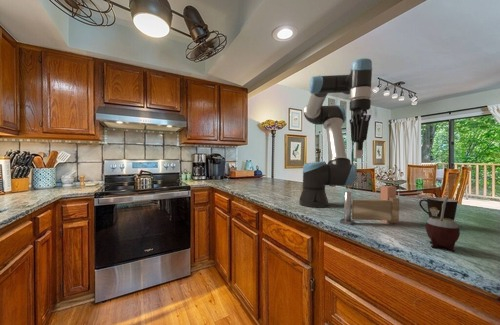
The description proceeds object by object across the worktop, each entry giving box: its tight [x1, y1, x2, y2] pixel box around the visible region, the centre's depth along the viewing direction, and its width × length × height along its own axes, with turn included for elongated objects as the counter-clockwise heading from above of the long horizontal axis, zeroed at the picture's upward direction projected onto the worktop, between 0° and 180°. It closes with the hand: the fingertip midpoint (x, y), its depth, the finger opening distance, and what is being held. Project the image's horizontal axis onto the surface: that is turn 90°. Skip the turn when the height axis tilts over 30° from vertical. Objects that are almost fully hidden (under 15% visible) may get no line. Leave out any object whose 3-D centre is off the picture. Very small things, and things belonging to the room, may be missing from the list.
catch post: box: [379, 185, 397, 224], centre depth 83 cm, size 4×4×14 cm
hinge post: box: [339, 191, 356, 226], centre depth 81 cm, size 4×4×12 cm
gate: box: [351, 197, 400, 223], centre depth 80 cm, size 2×17×9 cm, turn 88°
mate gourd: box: [425, 197, 461, 253], centre depth 58 cm, size 8×8×15 cm
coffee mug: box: [418, 196, 458, 221], centre depth 80 cm, size 12×9×10 cm
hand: (357, 158), depth 85 cm, fingers closed
